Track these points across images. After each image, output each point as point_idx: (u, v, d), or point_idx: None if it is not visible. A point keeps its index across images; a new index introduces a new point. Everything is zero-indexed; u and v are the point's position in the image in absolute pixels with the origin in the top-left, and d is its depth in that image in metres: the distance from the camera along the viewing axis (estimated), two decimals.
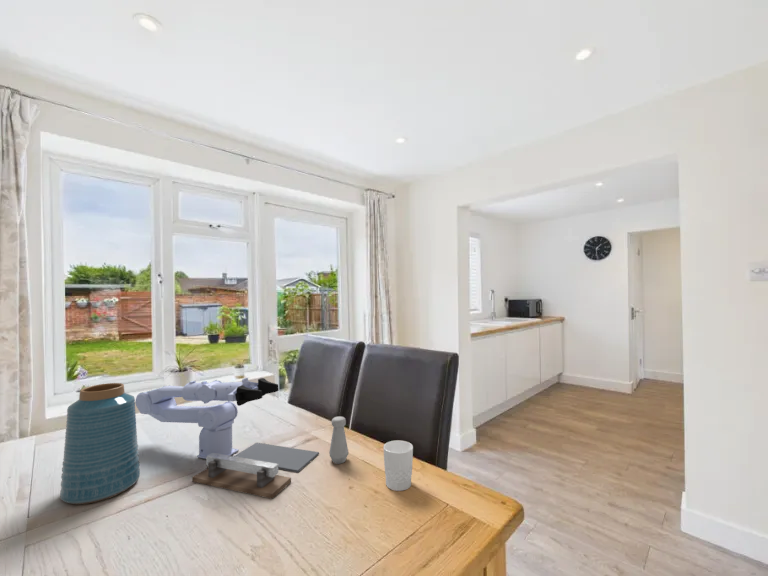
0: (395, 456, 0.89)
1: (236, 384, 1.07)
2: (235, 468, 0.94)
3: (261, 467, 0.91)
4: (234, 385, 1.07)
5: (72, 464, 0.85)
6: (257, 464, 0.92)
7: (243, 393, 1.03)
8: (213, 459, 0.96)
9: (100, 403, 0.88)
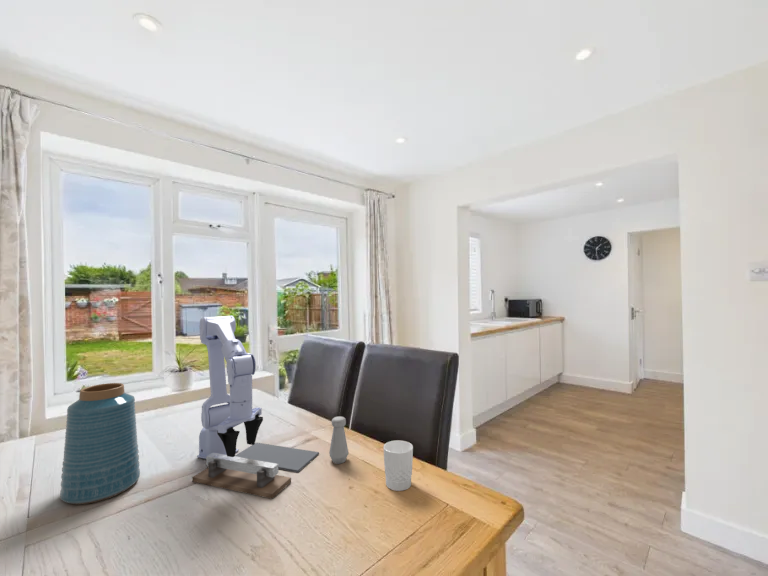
0: (395, 456, 0.89)
1: (245, 411, 0.93)
2: (235, 468, 0.94)
3: (261, 467, 0.91)
4: (243, 409, 0.93)
5: (72, 464, 0.85)
6: (257, 464, 0.92)
7: None
8: (213, 459, 0.96)
9: (100, 403, 0.88)
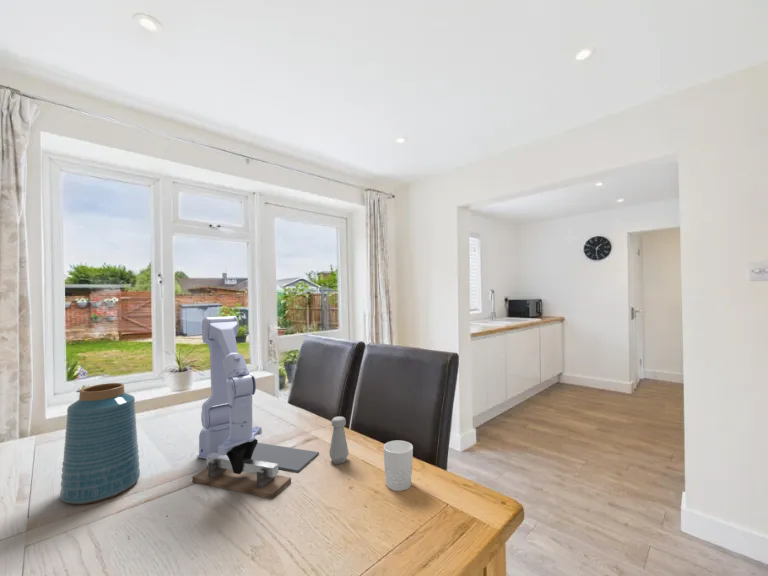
0: (395, 456, 0.89)
1: (245, 432, 0.93)
2: None
3: (261, 467, 0.91)
4: (243, 430, 0.92)
5: (72, 464, 0.85)
6: (257, 464, 0.92)
7: None
8: (213, 459, 0.96)
9: (100, 403, 0.88)
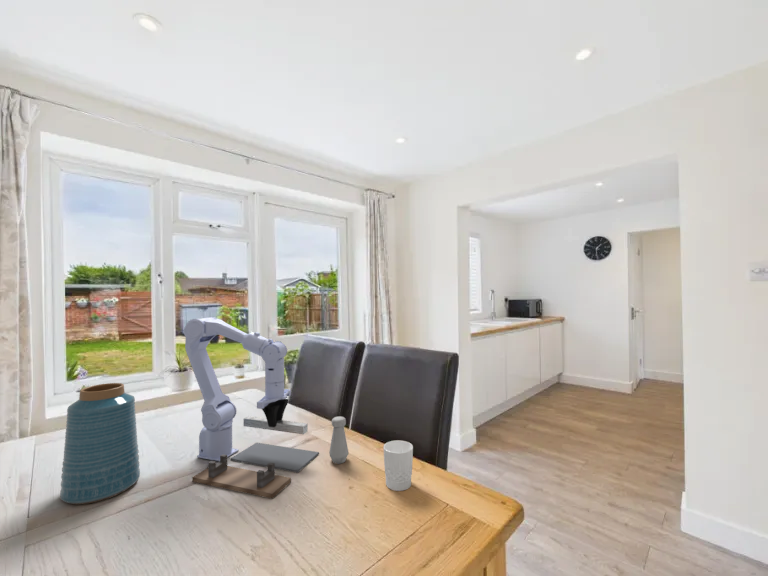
0: (395, 456, 0.89)
1: (278, 391, 1.07)
2: (269, 427, 1.08)
3: (292, 426, 1.05)
4: (277, 389, 1.07)
5: (72, 464, 0.85)
6: (289, 424, 1.06)
7: None
8: (250, 421, 1.10)
9: (100, 403, 0.88)
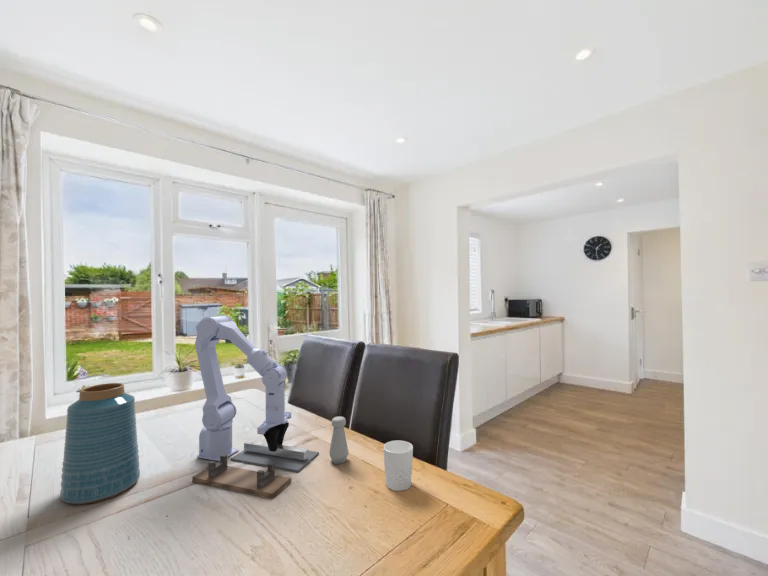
0: (395, 456, 0.89)
1: (279, 415, 1.07)
2: (270, 453, 1.08)
3: (293, 451, 1.05)
4: (278, 414, 1.07)
5: (72, 464, 0.85)
6: (290, 449, 1.06)
7: None
8: (250, 445, 1.10)
9: (100, 403, 0.88)
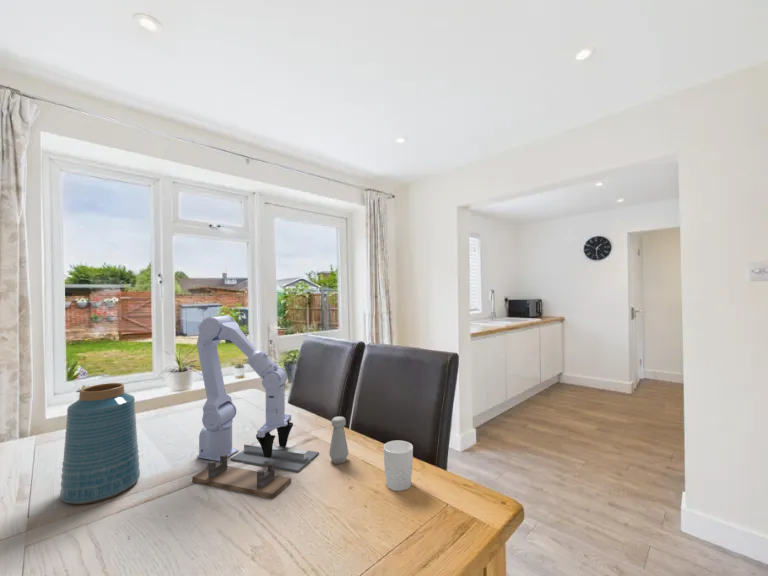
0: (395, 456, 0.89)
1: (279, 418, 1.07)
2: None
3: (293, 453, 1.05)
4: (278, 417, 1.07)
5: (72, 464, 0.85)
6: (290, 451, 1.06)
7: None
8: (250, 447, 1.10)
9: (100, 403, 0.88)
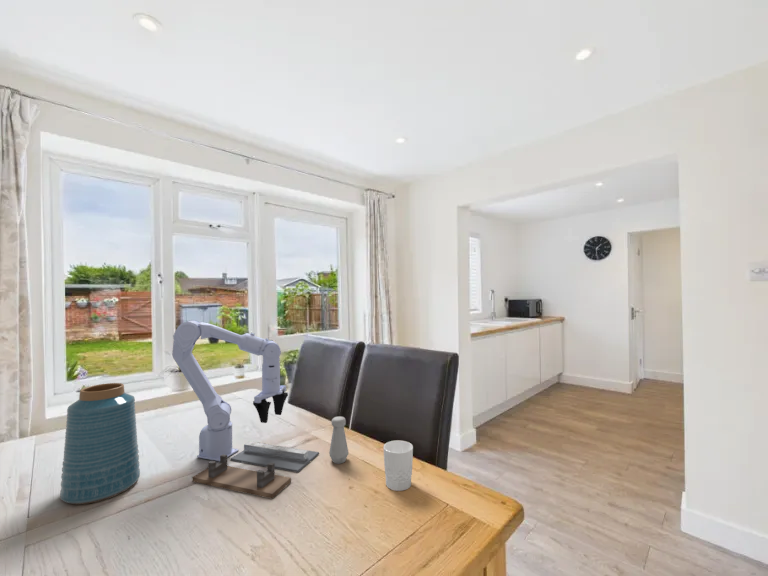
0: (395, 456, 0.89)
1: (274, 386, 1.15)
2: (270, 454, 1.08)
3: (293, 453, 1.05)
4: (273, 385, 1.14)
5: (72, 464, 0.85)
6: (290, 451, 1.06)
7: None
8: (250, 447, 1.10)
9: (100, 403, 0.88)
